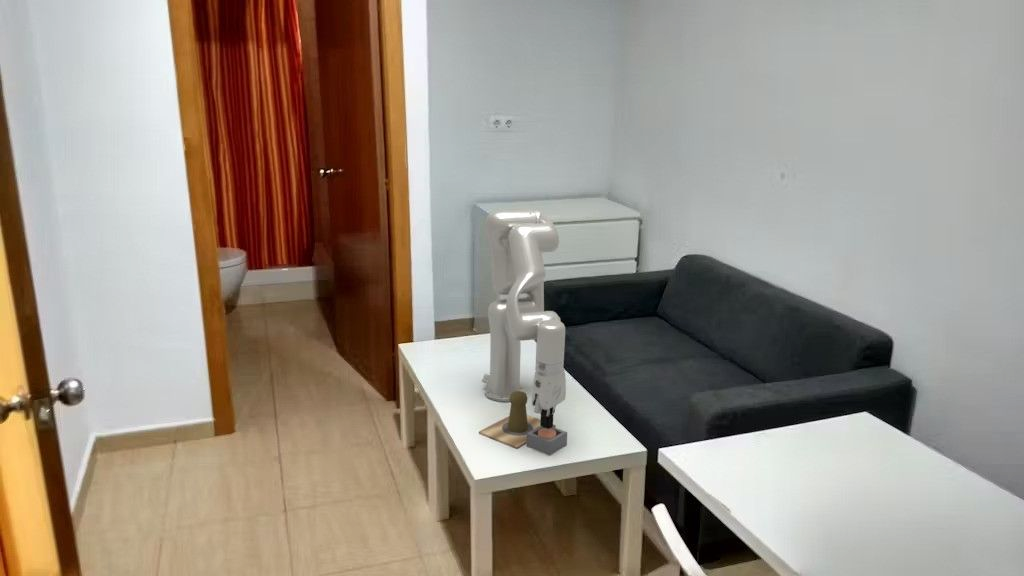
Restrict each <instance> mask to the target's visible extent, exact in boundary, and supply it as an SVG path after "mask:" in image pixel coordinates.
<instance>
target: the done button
mask: <svg viewBox="0 0 1024 576" xmlns="http://www.w3.org/2000/svg"><path fill="white" fill-rule="evenodd" d="M538 436H541V437H543V438H546V439H548V440H550V439H552V438H553V437H555V436H556V431H555V430H554V429H551V428H550V429H547V428H542V429H540V430H539V431H538Z"/></svg>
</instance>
